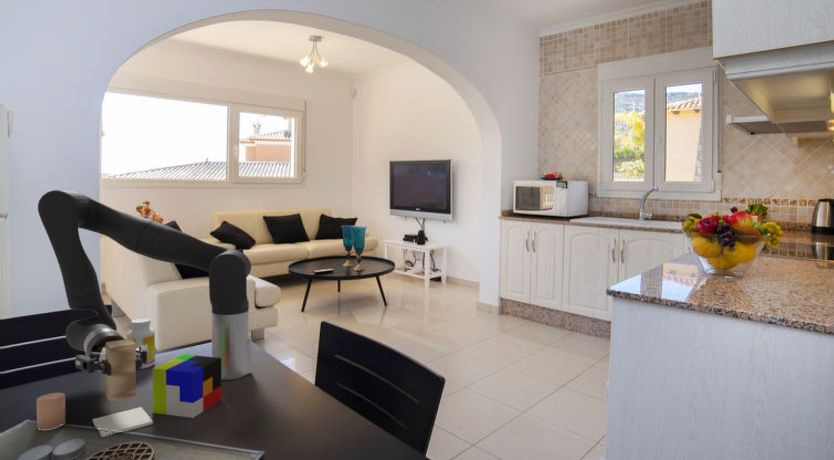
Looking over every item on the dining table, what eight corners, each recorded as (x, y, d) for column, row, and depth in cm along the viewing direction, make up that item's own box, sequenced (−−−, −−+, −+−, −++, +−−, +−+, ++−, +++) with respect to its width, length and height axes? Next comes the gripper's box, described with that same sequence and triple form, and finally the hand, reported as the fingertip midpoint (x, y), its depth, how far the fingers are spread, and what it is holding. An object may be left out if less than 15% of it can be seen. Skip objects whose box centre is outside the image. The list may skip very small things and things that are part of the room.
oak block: (130, 388, 102) (130, 338, 101) (135, 395, 99) (135, 343, 98) (105, 394, 99) (105, 342, 98) (110, 401, 96) (110, 347, 95)
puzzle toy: (193, 418, 102) (193, 372, 102) (153, 413, 104) (152, 368, 104) (221, 399, 112) (221, 358, 112) (183, 395, 114) (183, 354, 113)
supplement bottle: (157, 361, 137) (156, 317, 136) (152, 368, 131) (152, 322, 130) (130, 362, 135) (130, 318, 134) (124, 371, 129) (124, 324, 128)
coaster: (141, 409, 106) (141, 406, 106) (152, 423, 99) (152, 421, 99) (92, 421, 99) (92, 419, 99) (101, 438, 93) (101, 435, 93)
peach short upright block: (63, 418, 101) (63, 390, 100) (67, 426, 97) (66, 397, 97) (36, 425, 97) (35, 396, 97) (38, 433, 94) (37, 403, 94)
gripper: (67, 336, 104) (81, 356, 91) (140, 326, 113) (162, 343, 101) (67, 369, 104) (81, 395, 92) (140, 356, 114) (162, 378, 102)
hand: (124, 367), depth 97 cm, fingers closed on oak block, 4 cm apart
